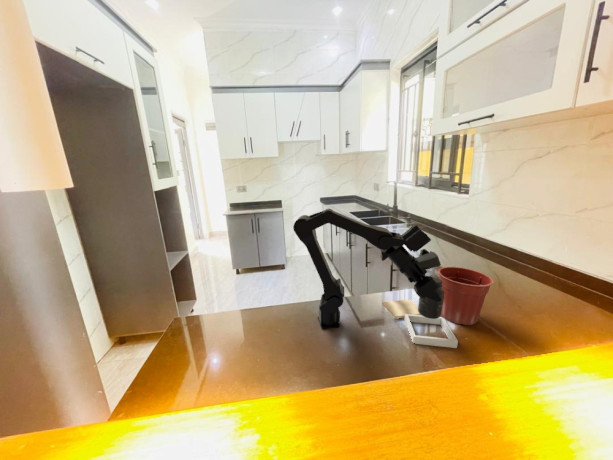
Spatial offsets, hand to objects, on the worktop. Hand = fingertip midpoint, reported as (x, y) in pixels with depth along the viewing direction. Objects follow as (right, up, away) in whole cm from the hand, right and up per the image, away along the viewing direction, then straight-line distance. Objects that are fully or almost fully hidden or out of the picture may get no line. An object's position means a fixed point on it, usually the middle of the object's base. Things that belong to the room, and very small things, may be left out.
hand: (436, 295), depth 80 cm
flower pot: (+14, -11, +12) cm, 22 cm away
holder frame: (-1, -13, +3) cm, 13 cm away
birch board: (-5, -10, +16) cm, 19 cm away
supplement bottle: (-1, -7, +2) cm, 7 cm away
